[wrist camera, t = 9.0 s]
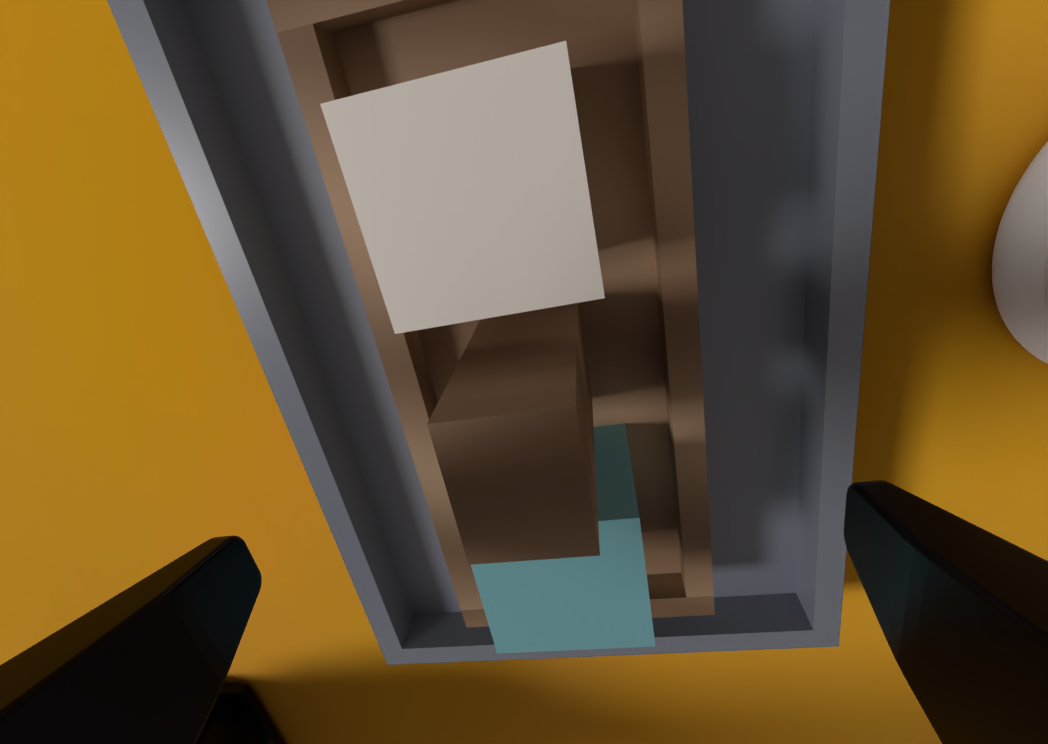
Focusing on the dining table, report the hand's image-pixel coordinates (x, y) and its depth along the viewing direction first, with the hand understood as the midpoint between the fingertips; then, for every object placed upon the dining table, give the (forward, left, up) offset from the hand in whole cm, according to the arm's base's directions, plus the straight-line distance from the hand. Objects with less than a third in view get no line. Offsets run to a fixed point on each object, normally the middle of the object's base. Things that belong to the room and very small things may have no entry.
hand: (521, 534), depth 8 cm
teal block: (-5, 0, -7) cm, 8 cm away
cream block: (+4, 0, -7) cm, 8 cm away
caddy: (0, 0, -8) cm, 8 cm away
